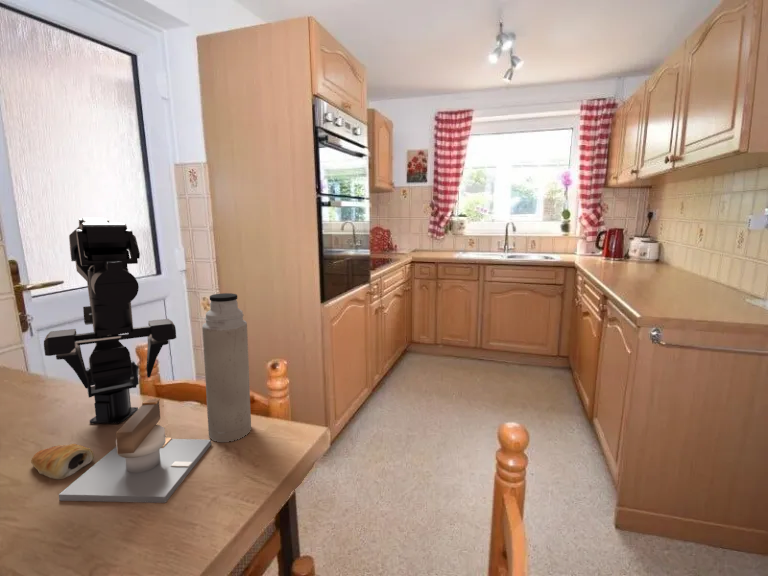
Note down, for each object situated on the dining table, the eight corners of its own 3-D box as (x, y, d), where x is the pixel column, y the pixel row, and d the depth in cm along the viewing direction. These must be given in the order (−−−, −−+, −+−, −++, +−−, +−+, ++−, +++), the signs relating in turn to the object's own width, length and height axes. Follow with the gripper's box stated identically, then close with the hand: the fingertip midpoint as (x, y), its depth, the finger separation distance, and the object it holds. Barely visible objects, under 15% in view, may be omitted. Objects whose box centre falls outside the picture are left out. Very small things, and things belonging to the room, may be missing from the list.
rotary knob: (102, 467, 62) (98, 432, 61) (134, 430, 73) (131, 399, 72) (151, 463, 63) (148, 429, 62) (175, 427, 74) (173, 397, 73)
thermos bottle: (221, 420, 86) (214, 290, 81) (257, 423, 85) (252, 291, 80) (200, 441, 78) (191, 297, 73) (240, 443, 77) (234, 299, 72)
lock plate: (127, 442, 77) (125, 423, 76) (211, 444, 77) (210, 424, 76) (59, 500, 61) (56, 476, 60) (165, 502, 61) (163, 478, 60)
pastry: (18, 472, 68) (16, 451, 67) (60, 451, 74) (58, 432, 73) (60, 483, 65) (58, 461, 64) (100, 460, 72) (98, 440, 71)
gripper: (165, 285, 82) (171, 359, 84) (46, 293, 71) (56, 378, 74) (173, 294, 73) (179, 377, 75) (38, 305, 62) (50, 400, 65)
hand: (119, 381), depth 72 cm, fingers open, 9 cm apart
